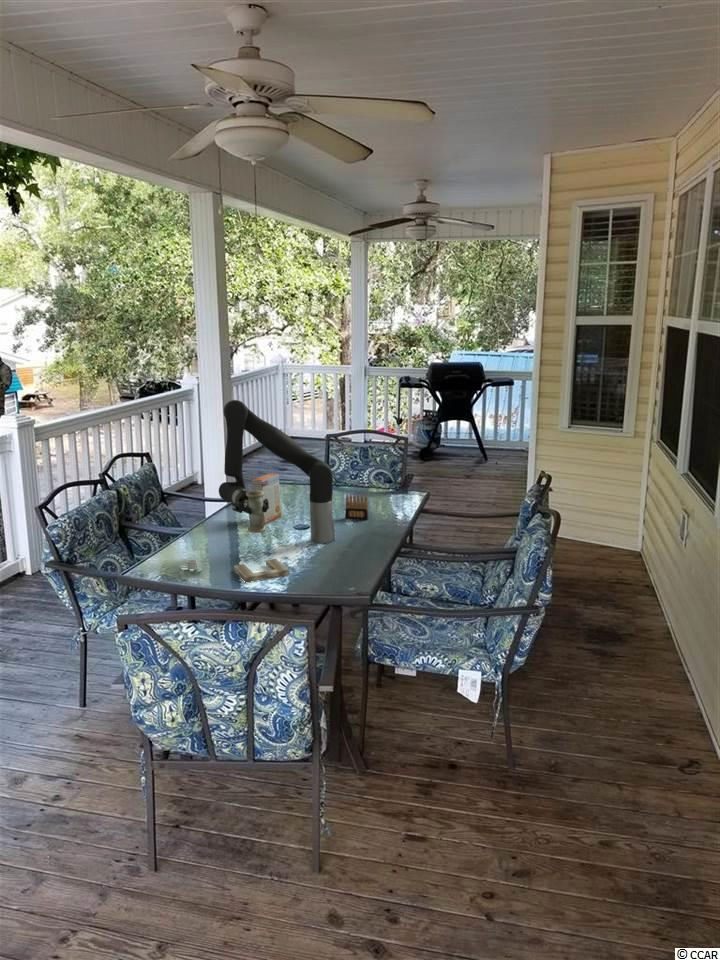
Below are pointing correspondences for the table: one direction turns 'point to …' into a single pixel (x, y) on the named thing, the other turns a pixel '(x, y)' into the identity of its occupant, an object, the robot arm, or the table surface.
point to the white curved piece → (190, 564)
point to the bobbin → (256, 511)
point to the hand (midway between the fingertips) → (258, 510)
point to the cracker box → (269, 495)
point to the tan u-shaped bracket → (272, 564)
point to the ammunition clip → (354, 512)
